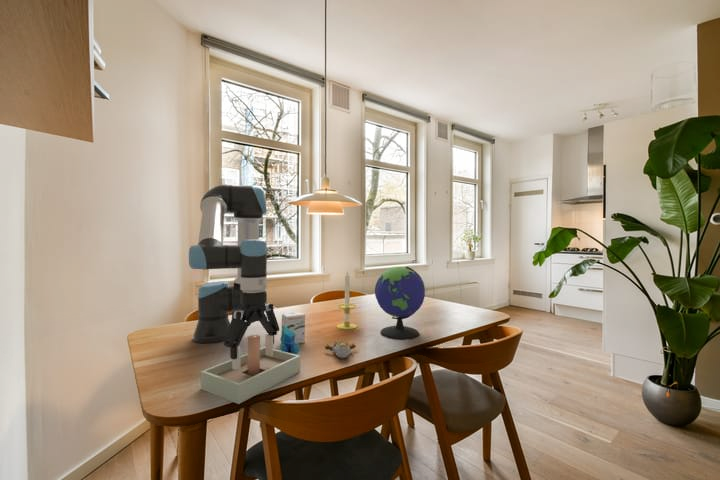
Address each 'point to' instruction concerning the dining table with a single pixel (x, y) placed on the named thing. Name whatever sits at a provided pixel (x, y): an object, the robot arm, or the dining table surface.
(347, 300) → the candle
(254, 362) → the peg
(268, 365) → the box
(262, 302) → the robot arm
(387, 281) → the globe
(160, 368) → the dining table surface
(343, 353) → the toy
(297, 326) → the ink box
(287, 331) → the gemstone
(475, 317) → the dining table surface
